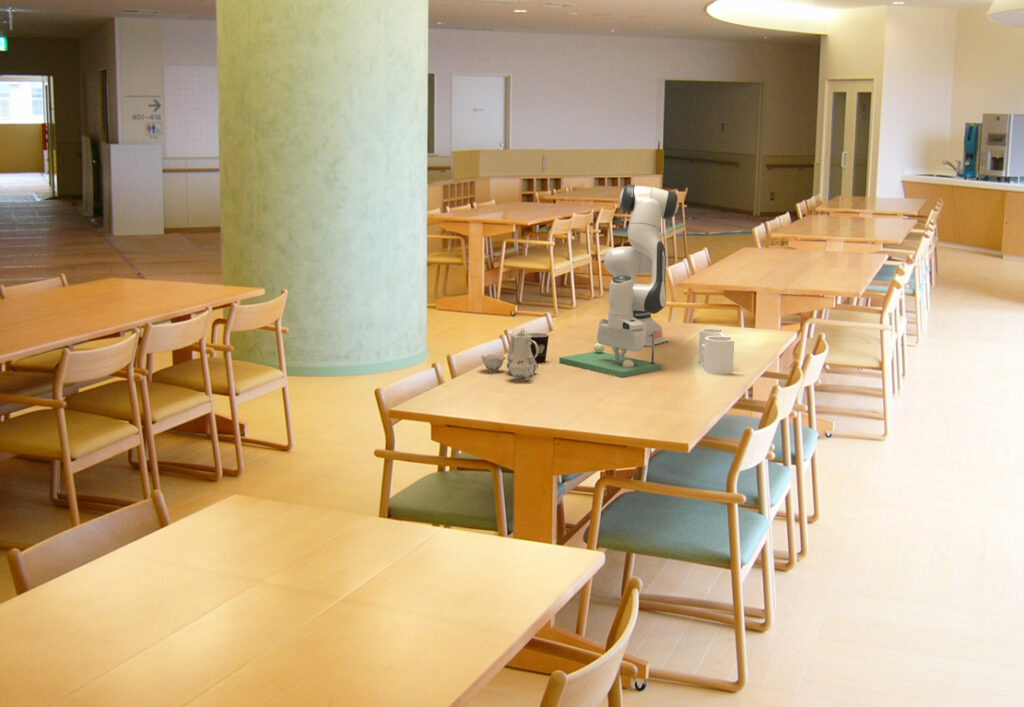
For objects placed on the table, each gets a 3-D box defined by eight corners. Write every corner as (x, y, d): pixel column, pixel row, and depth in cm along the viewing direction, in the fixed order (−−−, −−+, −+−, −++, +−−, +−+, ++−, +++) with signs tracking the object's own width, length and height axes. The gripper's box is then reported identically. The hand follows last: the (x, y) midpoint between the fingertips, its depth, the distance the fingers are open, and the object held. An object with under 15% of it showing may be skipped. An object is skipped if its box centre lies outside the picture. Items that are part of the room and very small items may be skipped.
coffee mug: (549, 359, 414) (549, 333, 412) (547, 364, 405) (548, 337, 403) (518, 358, 415) (518, 332, 413) (515, 363, 406) (516, 336, 404)
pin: (659, 362, 399) (660, 329, 397) (661, 363, 399) (662, 330, 396) (650, 364, 396) (651, 331, 394) (652, 364, 396) (653, 331, 393)
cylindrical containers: (695, 360, 414) (696, 328, 412) (721, 360, 414) (722, 328, 412) (705, 374, 390) (707, 341, 388) (733, 375, 390) (735, 341, 387)
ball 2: (637, 365, 394) (632, 372, 396) (631, 356, 396) (626, 363, 398) (630, 366, 391) (624, 373, 394) (624, 357, 393) (618, 365, 396)
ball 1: (599, 351, 419) (599, 341, 418) (606, 353, 416) (606, 342, 415) (591, 352, 417) (591, 342, 416) (599, 354, 414) (599, 343, 413)
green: (598, 356, 421) (598, 350, 420) (661, 369, 397) (661, 364, 396) (559, 362, 408) (559, 357, 407) (622, 377, 384) (622, 371, 384)
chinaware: (473, 375, 394) (469, 330, 390) (509, 364, 404) (506, 320, 400) (523, 389, 373) (520, 341, 368) (560, 377, 383) (557, 331, 378)
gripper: (593, 319, 401) (592, 356, 404) (634, 326, 386) (633, 365, 388) (606, 317, 405) (605, 354, 408) (647, 324, 390) (646, 363, 392)
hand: (619, 359), depth 398 cm, fingers closed
